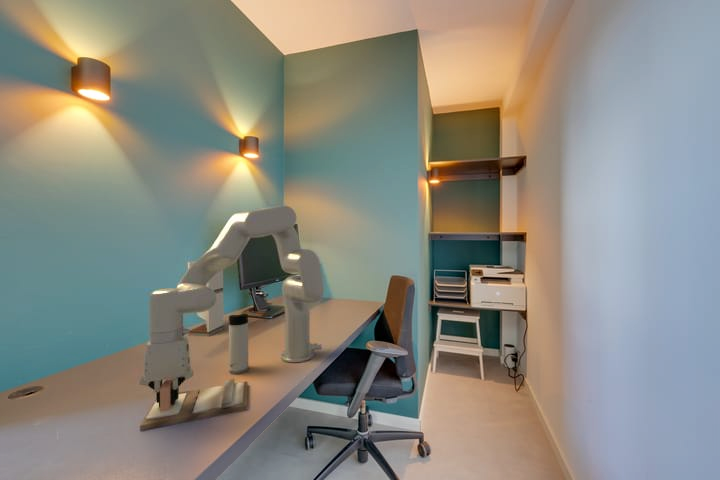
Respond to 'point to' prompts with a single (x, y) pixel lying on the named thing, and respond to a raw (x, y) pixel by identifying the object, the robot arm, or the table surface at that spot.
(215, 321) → the display case
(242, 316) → the travel mug
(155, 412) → the stub
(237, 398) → the ticket board
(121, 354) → the table surface
